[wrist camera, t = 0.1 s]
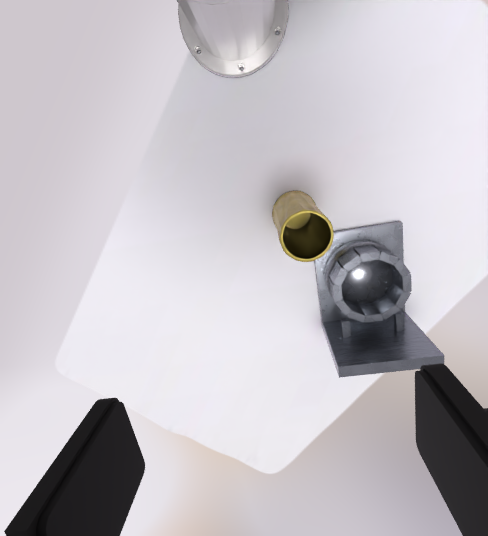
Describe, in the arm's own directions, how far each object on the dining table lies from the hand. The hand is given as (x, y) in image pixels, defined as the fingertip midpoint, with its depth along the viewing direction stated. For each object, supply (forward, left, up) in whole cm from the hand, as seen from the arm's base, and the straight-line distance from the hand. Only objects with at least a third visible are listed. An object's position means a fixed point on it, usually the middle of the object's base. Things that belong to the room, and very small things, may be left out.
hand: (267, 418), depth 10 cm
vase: (0, +4, -37) cm, 37 cm away
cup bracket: (+10, +12, -37) cm, 40 cm away
